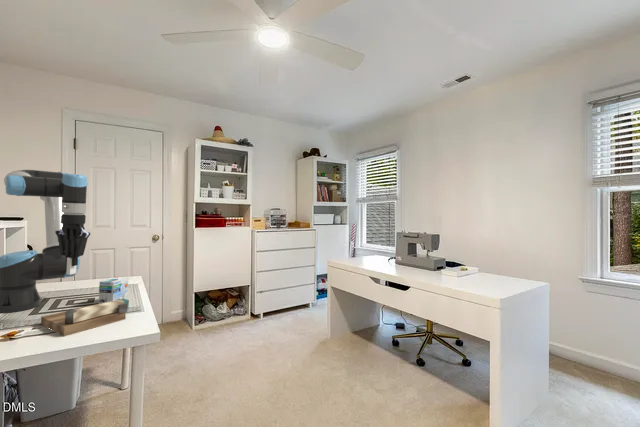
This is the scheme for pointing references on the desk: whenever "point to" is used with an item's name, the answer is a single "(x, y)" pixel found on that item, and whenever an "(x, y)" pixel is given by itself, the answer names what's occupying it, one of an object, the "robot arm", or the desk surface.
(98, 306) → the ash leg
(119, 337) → the desk surface
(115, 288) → the light bulb box
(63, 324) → the walnut seat
